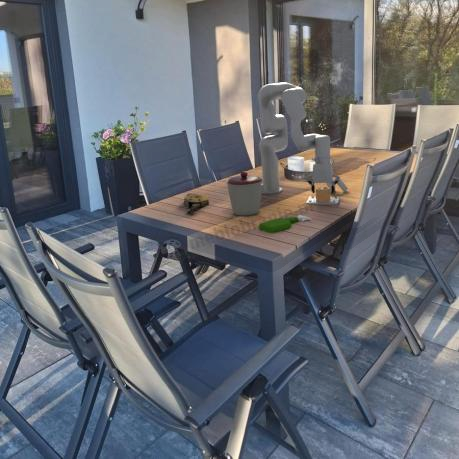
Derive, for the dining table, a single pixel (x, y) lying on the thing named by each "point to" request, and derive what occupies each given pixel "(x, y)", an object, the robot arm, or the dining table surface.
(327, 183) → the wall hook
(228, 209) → the dining table surface
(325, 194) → the tan hollow octagonal block
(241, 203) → the canister
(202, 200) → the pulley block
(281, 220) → the spray bottle
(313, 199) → the keeper
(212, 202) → the dining table surface
